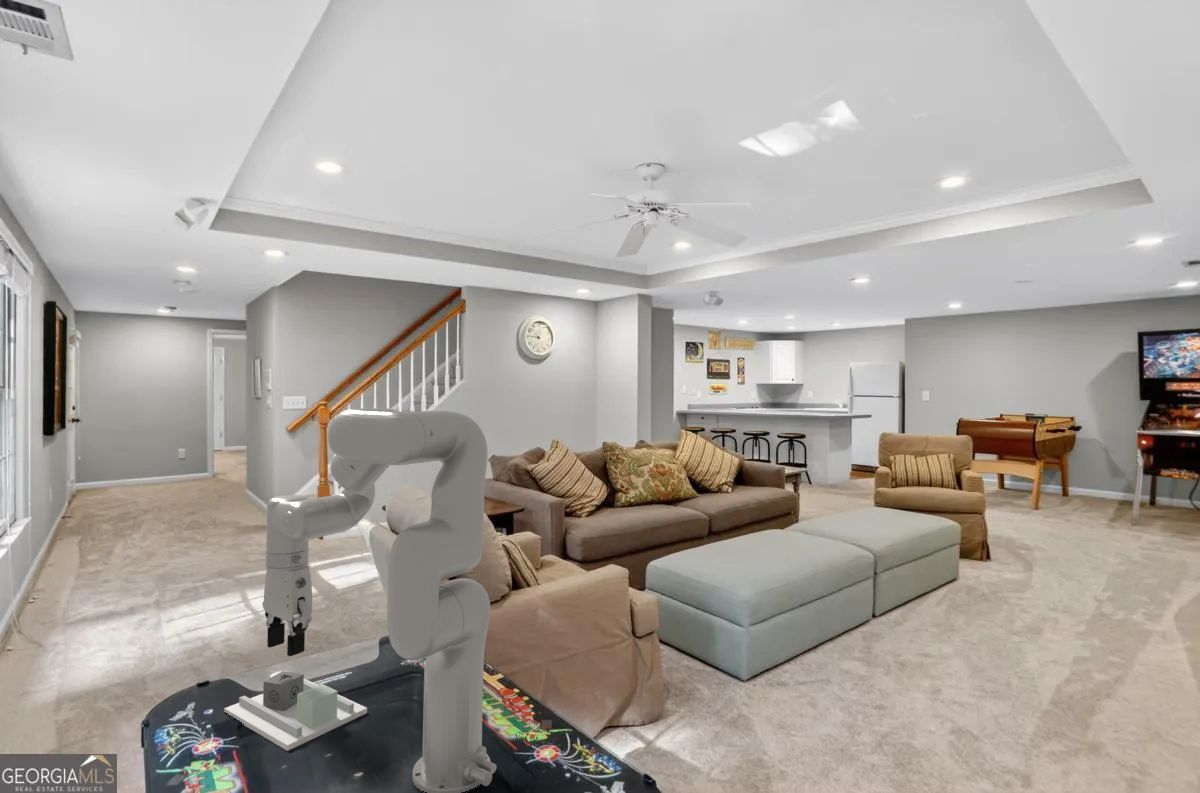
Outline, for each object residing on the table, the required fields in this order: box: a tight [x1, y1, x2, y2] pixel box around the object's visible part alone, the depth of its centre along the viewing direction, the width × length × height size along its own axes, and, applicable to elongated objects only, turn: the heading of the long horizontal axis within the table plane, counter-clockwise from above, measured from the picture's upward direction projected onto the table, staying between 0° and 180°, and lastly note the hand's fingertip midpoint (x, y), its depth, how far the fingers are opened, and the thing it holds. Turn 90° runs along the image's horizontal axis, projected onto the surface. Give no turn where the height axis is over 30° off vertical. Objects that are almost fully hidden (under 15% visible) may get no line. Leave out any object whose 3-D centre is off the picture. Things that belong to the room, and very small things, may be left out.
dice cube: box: [262, 670, 305, 711], centre depth 123 cm, size 5×5×5 cm
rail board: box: [223, 678, 368, 752], centre depth 121 cm, size 22×16×6 cm
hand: (285, 648), depth 123 cm, fingers open, 6 cm apart
